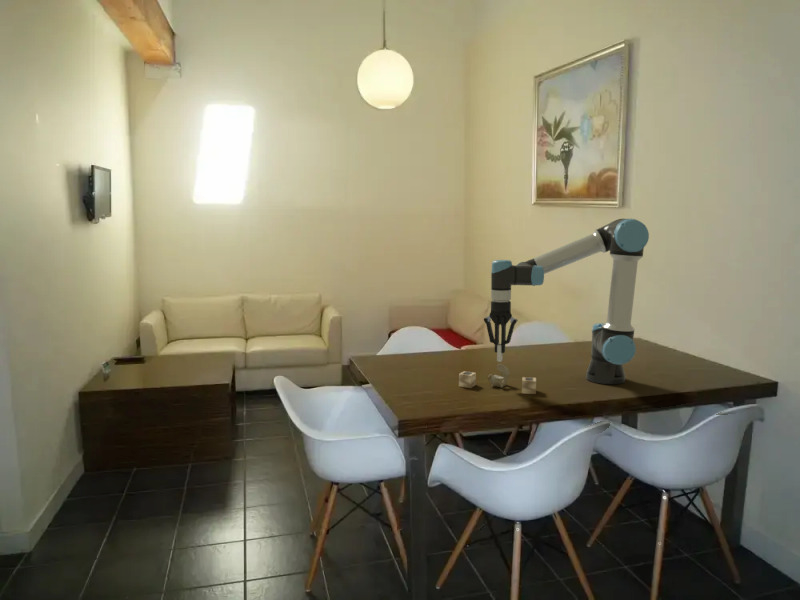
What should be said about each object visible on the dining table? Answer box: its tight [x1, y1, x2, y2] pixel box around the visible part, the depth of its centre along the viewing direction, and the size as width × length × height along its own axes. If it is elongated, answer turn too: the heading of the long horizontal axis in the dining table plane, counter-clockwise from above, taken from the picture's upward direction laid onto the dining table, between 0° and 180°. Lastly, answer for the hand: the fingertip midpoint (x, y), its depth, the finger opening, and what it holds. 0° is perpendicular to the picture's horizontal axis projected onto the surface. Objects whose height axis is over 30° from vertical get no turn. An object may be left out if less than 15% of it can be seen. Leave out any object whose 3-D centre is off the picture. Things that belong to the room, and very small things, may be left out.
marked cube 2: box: [521, 376, 537, 395], centre depth 235 cm, size 5×5×5 cm
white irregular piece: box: [487, 363, 510, 389], centre depth 242 cm, size 9×6×10 cm
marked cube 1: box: [458, 370, 477, 389], centre depth 243 cm, size 5×5×5 cm
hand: (499, 360), depth 241 cm, fingers closed
